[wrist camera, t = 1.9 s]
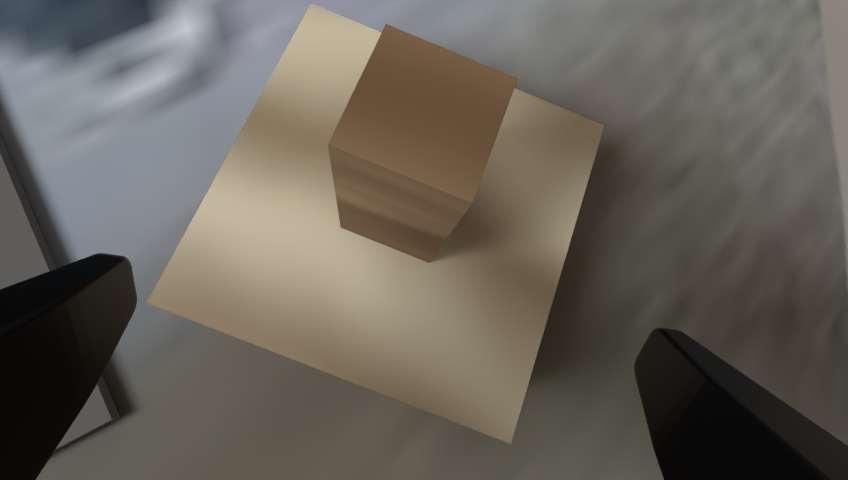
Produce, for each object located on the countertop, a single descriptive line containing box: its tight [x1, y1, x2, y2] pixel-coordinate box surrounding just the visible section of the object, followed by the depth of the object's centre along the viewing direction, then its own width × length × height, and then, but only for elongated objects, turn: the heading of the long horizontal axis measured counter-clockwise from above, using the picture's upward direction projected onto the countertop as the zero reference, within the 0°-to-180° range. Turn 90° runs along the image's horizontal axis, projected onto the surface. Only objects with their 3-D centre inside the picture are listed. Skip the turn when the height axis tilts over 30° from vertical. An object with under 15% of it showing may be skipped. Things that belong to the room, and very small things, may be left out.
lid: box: [147, 4, 604, 444], centre depth 13 cm, size 11×11×8 cm
